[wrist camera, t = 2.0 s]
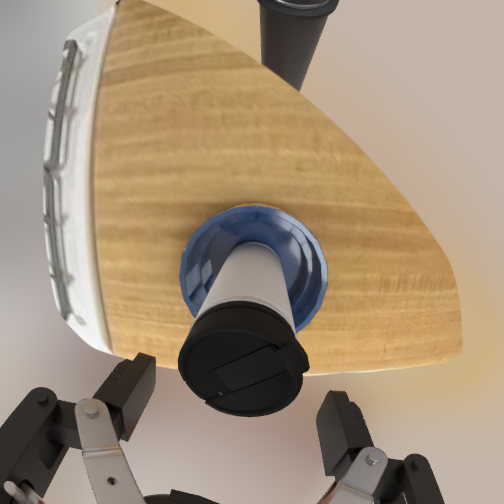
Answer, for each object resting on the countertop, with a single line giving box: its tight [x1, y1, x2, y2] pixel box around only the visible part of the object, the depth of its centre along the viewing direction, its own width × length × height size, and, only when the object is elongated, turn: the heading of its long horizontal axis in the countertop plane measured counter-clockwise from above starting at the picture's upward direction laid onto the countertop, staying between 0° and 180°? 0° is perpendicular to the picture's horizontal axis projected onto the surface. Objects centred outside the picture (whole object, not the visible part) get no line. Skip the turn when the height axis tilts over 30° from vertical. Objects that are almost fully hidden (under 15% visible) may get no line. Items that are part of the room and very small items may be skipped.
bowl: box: [179, 203, 328, 333], centre depth 29 cm, size 14×14×6 cm
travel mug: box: [178, 240, 310, 417], centre depth 21 cm, size 6×7×20 cm
